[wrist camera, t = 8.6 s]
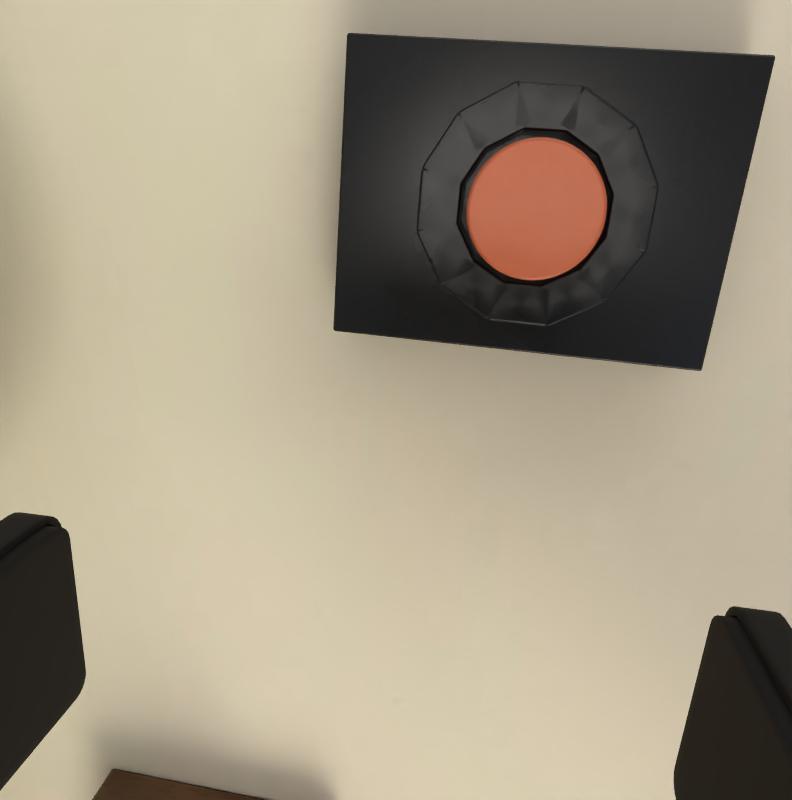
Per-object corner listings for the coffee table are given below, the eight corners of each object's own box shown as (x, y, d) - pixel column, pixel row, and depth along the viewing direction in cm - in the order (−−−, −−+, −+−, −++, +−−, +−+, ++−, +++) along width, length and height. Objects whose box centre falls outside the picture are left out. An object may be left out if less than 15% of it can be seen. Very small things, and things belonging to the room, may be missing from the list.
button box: (748, 68, 20) (805, 40, 16) (683, 354, 23) (719, 387, 19) (362, 47, 21) (331, 17, 17) (347, 319, 24) (318, 343, 20)
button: (608, 146, 18) (619, 141, 16) (586, 279, 19) (594, 287, 17) (476, 137, 18) (474, 131, 17) (462, 267, 19) (459, 274, 18)
